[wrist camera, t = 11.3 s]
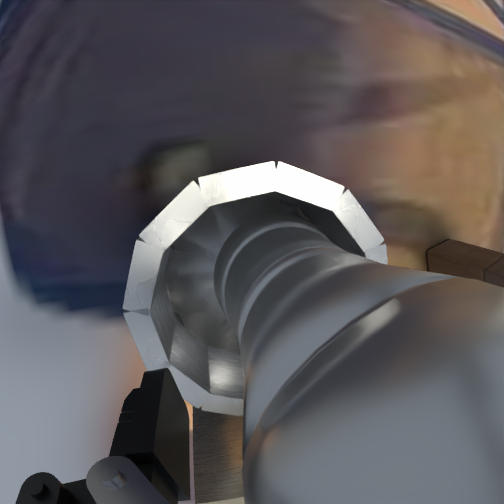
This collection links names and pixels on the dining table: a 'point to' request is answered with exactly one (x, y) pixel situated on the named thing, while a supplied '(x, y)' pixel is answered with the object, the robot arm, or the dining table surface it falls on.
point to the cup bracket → (206, 304)
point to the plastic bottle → (361, 373)
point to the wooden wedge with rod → (467, 262)
